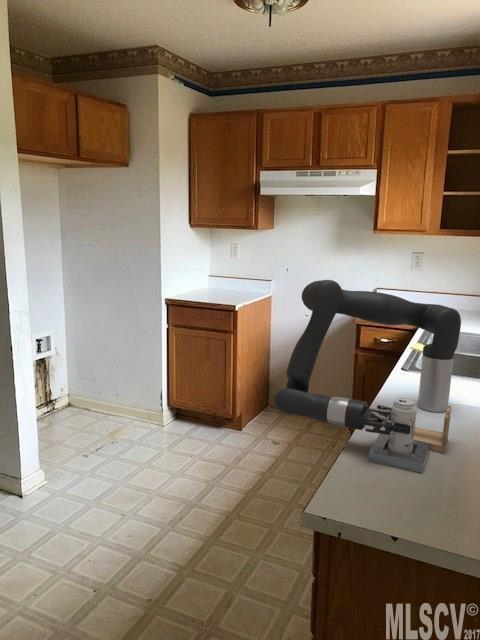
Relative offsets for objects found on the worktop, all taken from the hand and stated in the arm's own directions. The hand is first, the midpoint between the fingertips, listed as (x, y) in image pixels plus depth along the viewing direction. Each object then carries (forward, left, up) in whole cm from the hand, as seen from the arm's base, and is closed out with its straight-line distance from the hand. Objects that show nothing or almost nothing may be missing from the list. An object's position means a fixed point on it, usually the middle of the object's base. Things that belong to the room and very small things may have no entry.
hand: (412, 425), depth 132 cm
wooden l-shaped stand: (-12, +3, -9) cm, 15 cm away
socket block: (0, -2, -9) cm, 9 cm away
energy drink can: (0, -2, -9) cm, 10 cm away
